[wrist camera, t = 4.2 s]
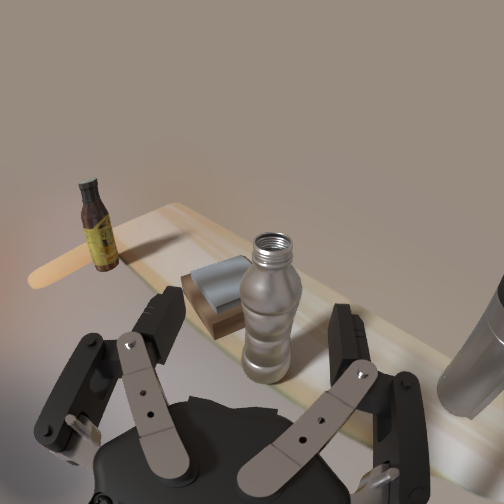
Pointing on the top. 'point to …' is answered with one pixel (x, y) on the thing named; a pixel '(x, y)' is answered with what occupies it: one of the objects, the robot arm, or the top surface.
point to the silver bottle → (269, 308)
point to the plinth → (208, 313)
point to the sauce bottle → (97, 227)
